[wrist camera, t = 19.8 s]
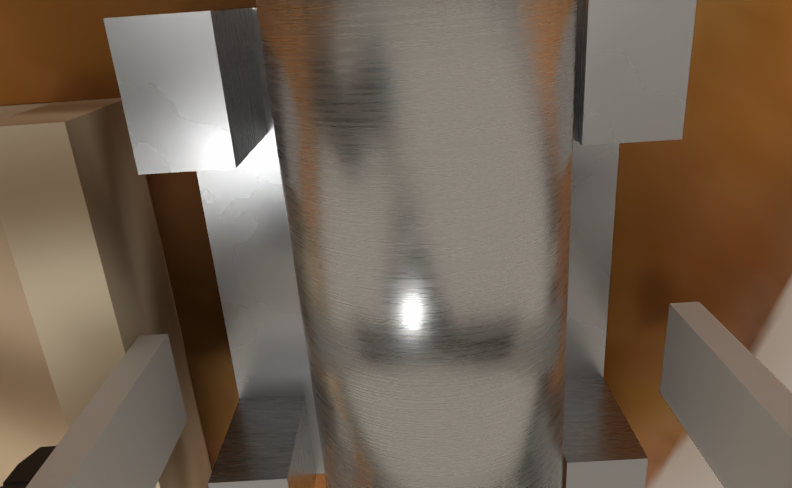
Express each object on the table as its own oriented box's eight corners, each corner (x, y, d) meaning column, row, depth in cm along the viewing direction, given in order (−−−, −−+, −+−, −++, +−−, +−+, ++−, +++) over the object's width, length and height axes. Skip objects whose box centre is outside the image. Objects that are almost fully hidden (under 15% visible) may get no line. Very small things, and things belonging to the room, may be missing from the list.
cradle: (179, 12, 16) (102, 18, 12) (616, -18, 16) (699, -24, 11) (260, 455, 21) (227, 570, 17) (588, 436, 21) (638, 548, 17)
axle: (284, -7, 15) (214, -7, 9) (539, -27, 14) (627, -41, 9) (345, 464, 20) (325, 647, 14) (534, 453, 20) (587, 635, 14)
